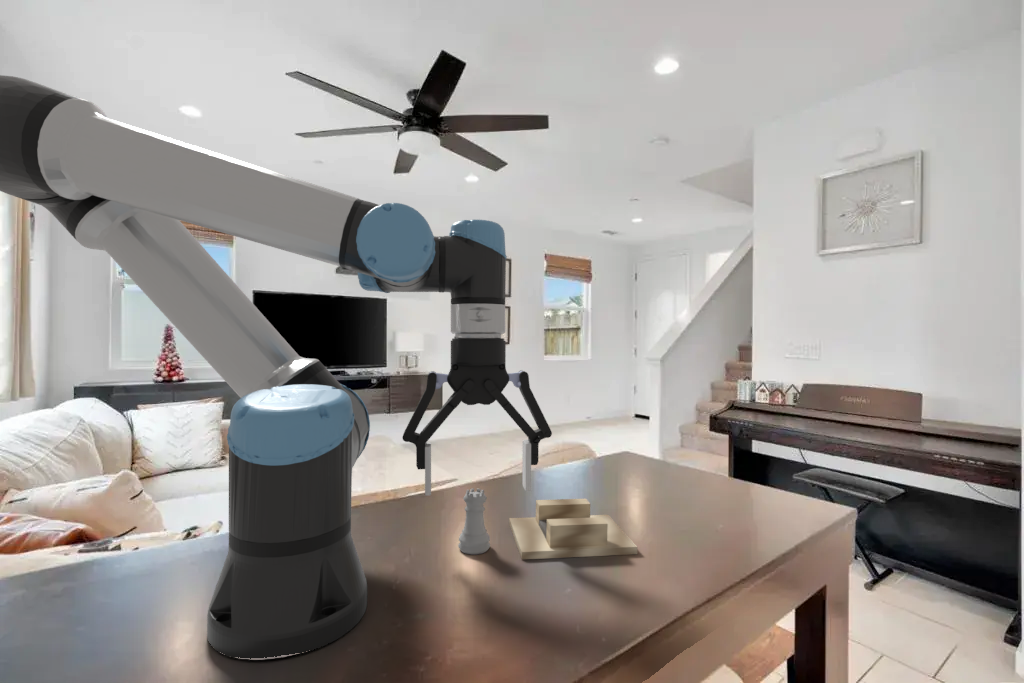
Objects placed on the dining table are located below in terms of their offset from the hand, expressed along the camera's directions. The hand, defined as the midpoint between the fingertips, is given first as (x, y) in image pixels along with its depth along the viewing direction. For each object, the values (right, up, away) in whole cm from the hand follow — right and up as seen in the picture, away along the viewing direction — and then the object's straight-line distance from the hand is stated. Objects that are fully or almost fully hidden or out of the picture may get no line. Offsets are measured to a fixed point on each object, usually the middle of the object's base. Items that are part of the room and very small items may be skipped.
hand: (478, 490), depth 69 cm
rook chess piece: (-1, -8, 0) cm, 8 cm away
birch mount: (+13, -8, +4) cm, 16 cm away
